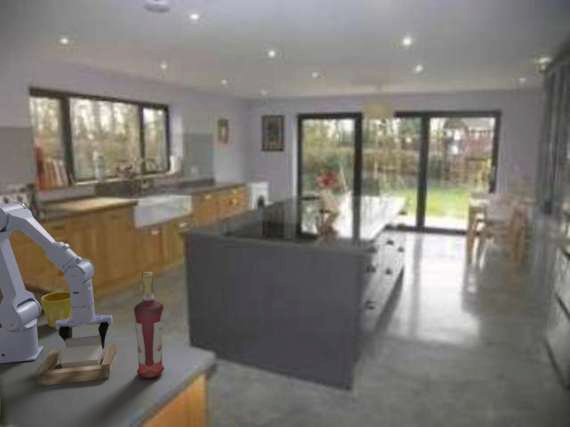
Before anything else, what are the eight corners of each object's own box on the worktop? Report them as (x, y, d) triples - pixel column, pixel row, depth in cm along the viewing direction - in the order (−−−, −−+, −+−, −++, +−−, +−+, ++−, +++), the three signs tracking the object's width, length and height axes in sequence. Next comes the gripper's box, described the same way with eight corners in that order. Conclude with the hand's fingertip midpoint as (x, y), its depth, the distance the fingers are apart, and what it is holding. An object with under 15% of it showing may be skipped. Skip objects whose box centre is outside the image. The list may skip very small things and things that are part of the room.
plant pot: (83, 318, 151) (81, 291, 149) (65, 331, 140) (63, 302, 139) (55, 316, 152) (53, 290, 150) (35, 329, 141) (33, 300, 140)
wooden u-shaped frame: (37, 385, 109) (36, 374, 108) (52, 359, 122) (52, 349, 122) (109, 378, 113) (108, 367, 112) (116, 353, 126) (116, 343, 126)
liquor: (164, 380, 112) (161, 276, 108) (134, 383, 111) (130, 278, 106) (165, 366, 119) (163, 268, 115) (138, 368, 118) (134, 269, 113)
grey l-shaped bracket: (63, 374, 115) (59, 356, 113) (69, 356, 122) (65, 338, 119) (99, 370, 117) (96, 352, 115) (103, 352, 124) (100, 335, 121)
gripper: (50, 312, 115) (55, 359, 117) (108, 306, 118) (112, 352, 121) (57, 302, 122) (62, 347, 124) (111, 297, 125) (115, 341, 127)
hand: (87, 349), depth 123 cm, fingers open, 7 cm apart
